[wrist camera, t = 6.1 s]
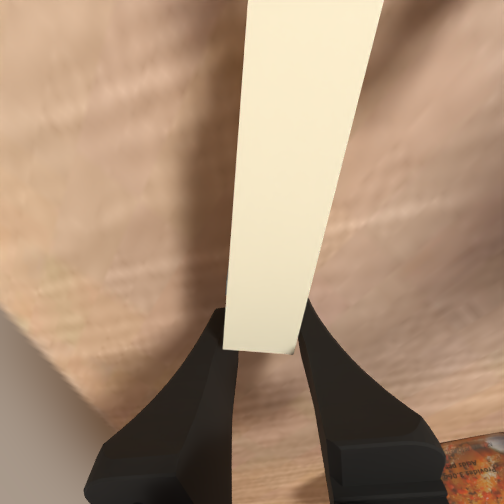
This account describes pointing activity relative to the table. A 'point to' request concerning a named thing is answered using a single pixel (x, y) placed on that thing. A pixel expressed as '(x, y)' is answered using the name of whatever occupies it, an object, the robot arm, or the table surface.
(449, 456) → the tin
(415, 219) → the table surface
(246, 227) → the cream square stick
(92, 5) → the table surface
